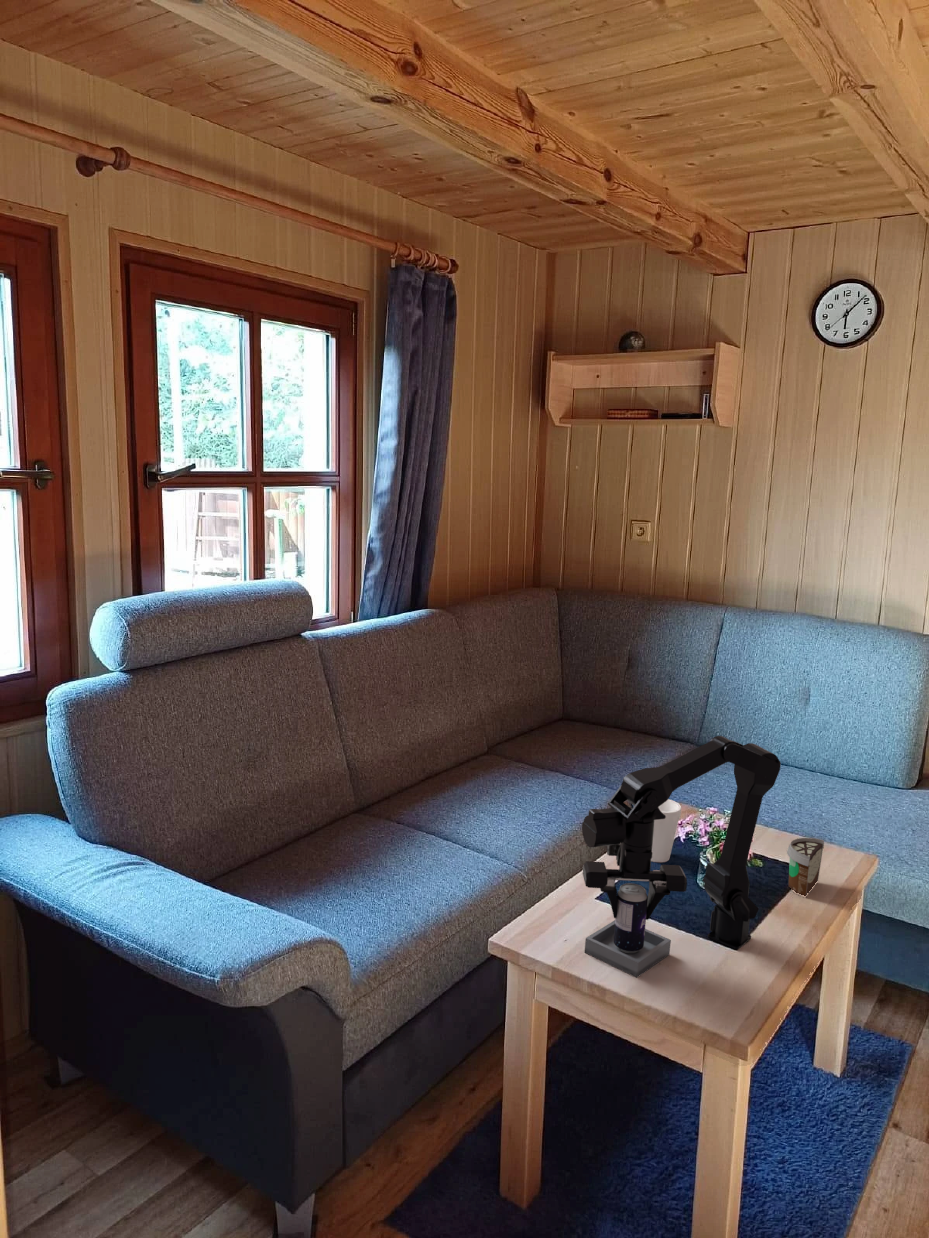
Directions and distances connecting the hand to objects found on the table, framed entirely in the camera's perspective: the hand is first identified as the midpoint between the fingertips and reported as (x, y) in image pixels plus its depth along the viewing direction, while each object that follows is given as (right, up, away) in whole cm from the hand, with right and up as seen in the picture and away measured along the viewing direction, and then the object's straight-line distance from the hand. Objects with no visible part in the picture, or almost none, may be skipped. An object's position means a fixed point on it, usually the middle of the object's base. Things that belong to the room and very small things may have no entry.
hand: (630, 917), depth 175 cm
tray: (0, -7, +1) cm, 7 cm away
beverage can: (0, -6, +1) cm, 6 cm away
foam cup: (+14, 0, +45) cm, 47 cm away
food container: (+43, -4, +33) cm, 55 cm away
